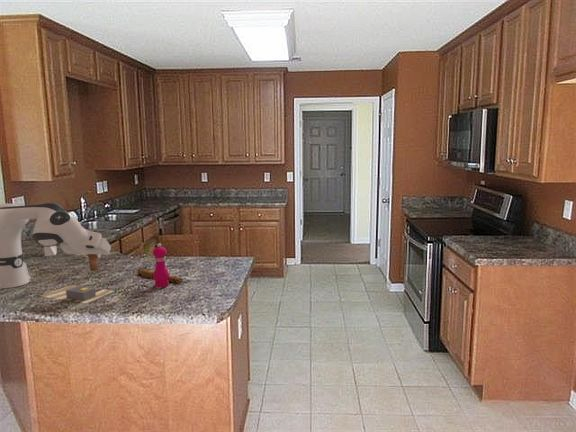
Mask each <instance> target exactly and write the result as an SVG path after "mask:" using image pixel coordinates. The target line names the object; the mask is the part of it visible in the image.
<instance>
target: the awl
mask: <svg viewBox="0 0 576 432" xmlns="http://www.w3.org/2000/svg"><path fill="white" fill-rule="evenodd" d="M88 255H89V258H88V265H89V271H90V272H96V271H99V261H98V260H99V259H98V258H96V257H95V255H96V254H88Z"/></svg>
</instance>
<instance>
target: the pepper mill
mask: <svg viewBox="0 0 576 432" xmlns="http://www.w3.org/2000/svg"><path fill="white" fill-rule="evenodd" d="M152 255H153V257H154V261H155V269H154V270H153V271H154V274H153V278H152V279H153V281H154V287H155V288H165V287H168V286H169V284H170V281H168V278H169V276H170V273H169V271H168V269H167V266H166V255H167V249H166V248H165V247H164V246H162V243H157V244H156V247H154V248H153V250H152Z"/></svg>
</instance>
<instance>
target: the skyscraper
mask: <svg viewBox="0 0 576 432" xmlns="http://www.w3.org/2000/svg"><path fill="white" fill-rule="evenodd" d="M43 251H44V254H43V255H42V256H41V257H54V256H56V255H57V254H58V252H57V251H58V249H57V245H55V246H51V247H45V246H43Z"/></svg>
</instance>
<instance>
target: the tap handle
mask: <svg viewBox="0 0 576 432" xmlns="http://www.w3.org/2000/svg"><path fill="white" fill-rule="evenodd" d="M154 271H155V270H153V269H152V270H151V269H147V268H145V269H138V270H137V275H139V276H141V277H143V276H145V277H144V278H148V277H149V279H153V274H154ZM140 274H141V275H140ZM168 281H169V283H174V284H175V283H176V284H178V285H179V284H182V283H183V278H182V277H178V276H174V275H173V276H172V275H169V278H168Z"/></svg>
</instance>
